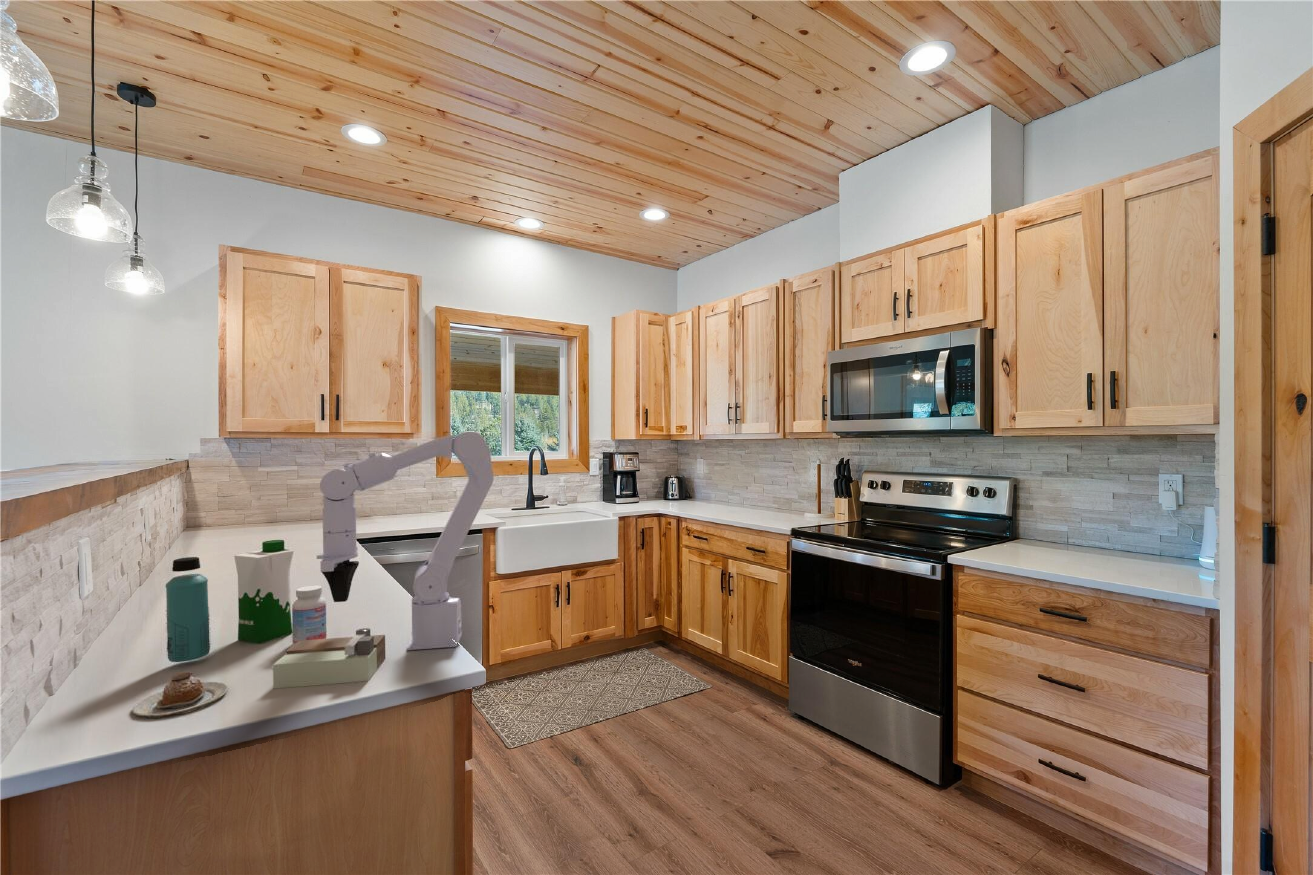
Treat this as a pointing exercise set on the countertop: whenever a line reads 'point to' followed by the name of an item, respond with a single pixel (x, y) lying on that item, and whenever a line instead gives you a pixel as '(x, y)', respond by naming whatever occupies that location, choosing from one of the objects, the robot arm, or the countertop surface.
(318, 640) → the block
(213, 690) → the pastry
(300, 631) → the pill bottle
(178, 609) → the beverage bottle
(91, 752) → the countertop surface
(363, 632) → the bar
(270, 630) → the milk carton
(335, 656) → the pale green long block
